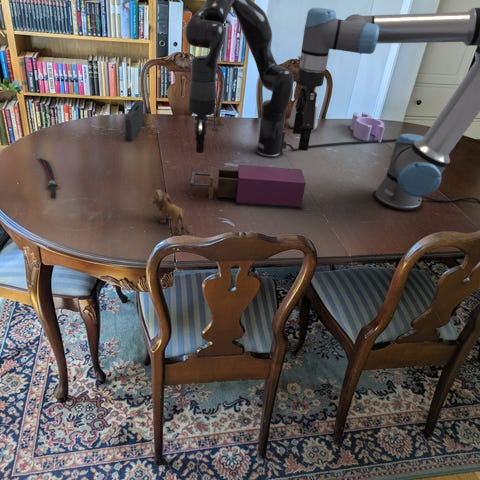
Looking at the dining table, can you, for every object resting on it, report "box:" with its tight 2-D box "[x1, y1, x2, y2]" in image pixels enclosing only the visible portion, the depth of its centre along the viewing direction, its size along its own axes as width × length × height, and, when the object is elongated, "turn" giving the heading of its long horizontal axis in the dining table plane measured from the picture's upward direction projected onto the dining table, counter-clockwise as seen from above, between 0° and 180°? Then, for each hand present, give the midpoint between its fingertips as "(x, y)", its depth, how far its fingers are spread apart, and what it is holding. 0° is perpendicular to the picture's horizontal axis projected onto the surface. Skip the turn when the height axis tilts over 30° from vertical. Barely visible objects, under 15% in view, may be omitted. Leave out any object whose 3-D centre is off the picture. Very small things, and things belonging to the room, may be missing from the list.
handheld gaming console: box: [124, 99, 145, 141], centre depth 189 cm, size 23×3×10 cm, turn 178°
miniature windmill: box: [208, 63, 221, 131], centre depth 198 cm, size 9×8×30 cm
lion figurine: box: [149, 189, 191, 236], centre depth 131 cm, size 15×5×9 cm, turn 50°
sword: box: [40, 158, 59, 198], centre depth 151 cm, size 31×3×1 cm, turn 26°
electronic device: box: [287, 87, 320, 133], centre depth 207 cm, size 12×8×30 cm, turn 71°
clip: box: [349, 112, 386, 143], centre depth 214 cm, size 20×12×7 cm, turn 11°
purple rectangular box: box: [235, 164, 307, 210], centre depth 150 cm, size 21×10×9 cm, turn 91°
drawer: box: [189, 165, 238, 200], centre depth 150 cm, size 26×9×7 cm, turn 91°
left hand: (199, 151), depth 143 cm, fingers closed
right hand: (299, 141), depth 142 cm, fingers open, 13 cm apart
